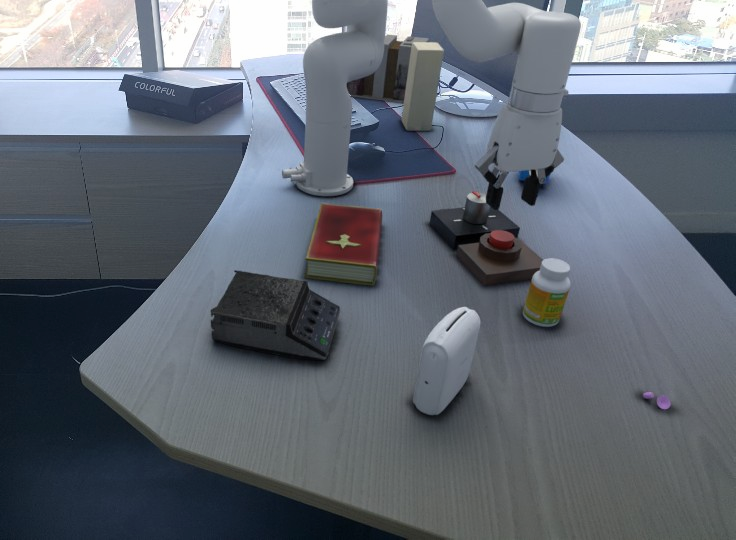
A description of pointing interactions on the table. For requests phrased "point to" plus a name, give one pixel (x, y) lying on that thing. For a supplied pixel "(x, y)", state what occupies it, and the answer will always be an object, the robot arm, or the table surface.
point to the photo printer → (446, 360)
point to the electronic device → (275, 317)
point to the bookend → (387, 72)
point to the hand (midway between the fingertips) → (510, 203)
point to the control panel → (468, 226)
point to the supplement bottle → (547, 293)
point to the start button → (501, 239)
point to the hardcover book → (345, 244)
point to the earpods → (659, 400)
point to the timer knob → (476, 208)
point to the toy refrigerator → (422, 85)
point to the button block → (499, 261)
